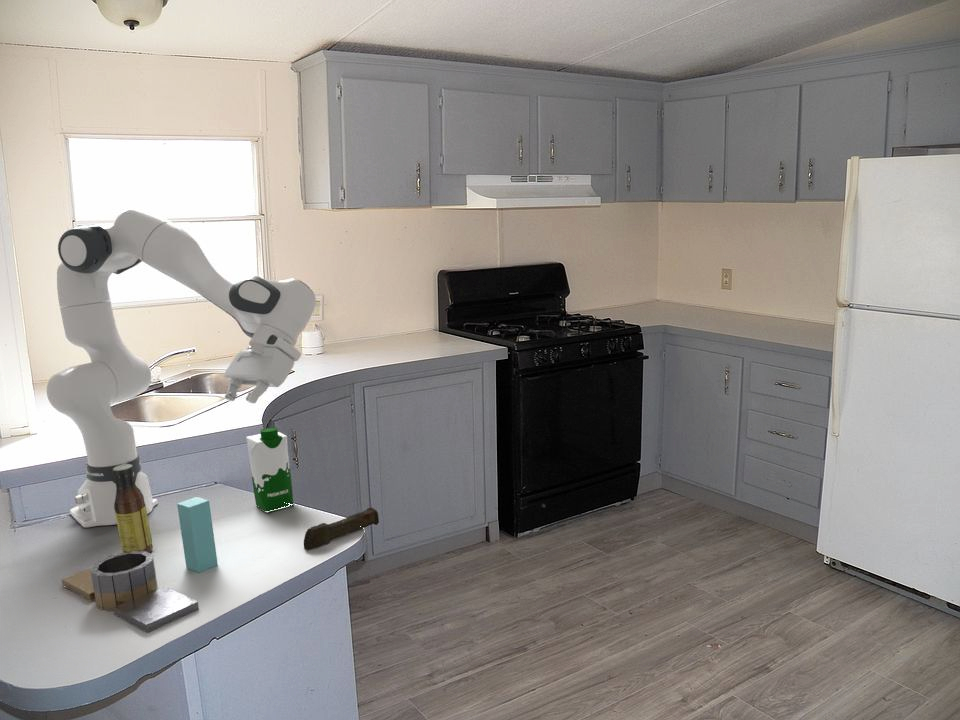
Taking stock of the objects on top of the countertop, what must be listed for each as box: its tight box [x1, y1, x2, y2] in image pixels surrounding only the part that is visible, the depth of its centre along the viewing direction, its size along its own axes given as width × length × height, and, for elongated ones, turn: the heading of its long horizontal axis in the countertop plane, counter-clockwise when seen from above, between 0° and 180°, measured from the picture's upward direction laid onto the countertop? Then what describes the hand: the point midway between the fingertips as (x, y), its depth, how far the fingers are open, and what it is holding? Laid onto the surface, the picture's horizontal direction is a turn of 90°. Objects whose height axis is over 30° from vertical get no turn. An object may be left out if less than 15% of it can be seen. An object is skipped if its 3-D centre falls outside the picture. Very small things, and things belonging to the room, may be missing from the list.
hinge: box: [61, 551, 200, 634], centre depth 155 cm, size 34×11×7 cm, turn 50°
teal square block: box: [176, 496, 218, 573], centre depth 167 cm, size 4×4×14 cm
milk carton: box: [245, 427, 294, 512], centre depth 199 cm, size 9×9×20 cm
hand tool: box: [303, 507, 380, 551], centre depth 179 cm, size 19×4×5 cm, turn 133°
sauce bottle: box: [113, 464, 154, 553], centre depth 175 cm, size 6×6×20 cm
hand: (239, 400), depth 173 cm, fingers open, 8 cm apart
